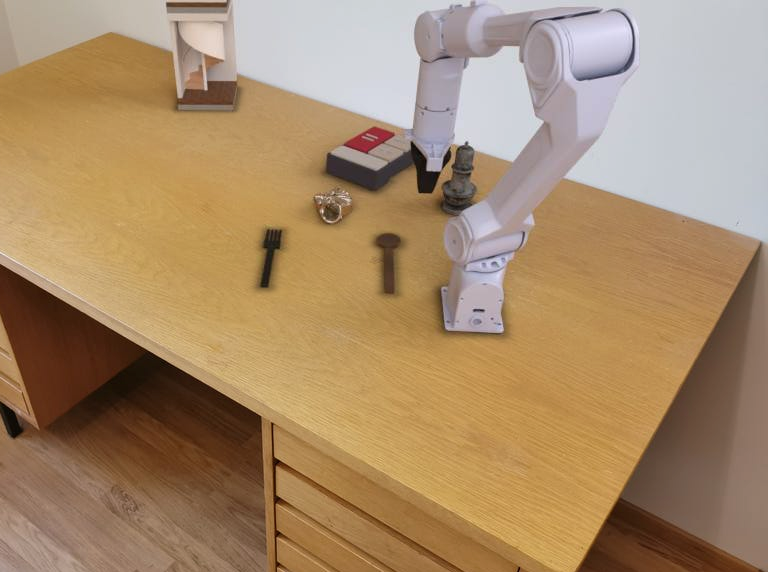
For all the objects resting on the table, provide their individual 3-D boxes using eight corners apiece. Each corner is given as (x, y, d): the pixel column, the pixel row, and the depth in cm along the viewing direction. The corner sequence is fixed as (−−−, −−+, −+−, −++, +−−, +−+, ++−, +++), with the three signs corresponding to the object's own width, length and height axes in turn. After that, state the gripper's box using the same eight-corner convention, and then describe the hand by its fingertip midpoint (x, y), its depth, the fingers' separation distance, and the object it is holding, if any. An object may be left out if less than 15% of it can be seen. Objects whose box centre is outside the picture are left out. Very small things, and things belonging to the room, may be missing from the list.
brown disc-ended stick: (401, 293, 109) (402, 290, 109) (377, 292, 110) (377, 289, 109) (399, 236, 120) (400, 233, 120) (377, 235, 120) (377, 232, 120)
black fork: (273, 287, 111) (273, 285, 110) (255, 287, 111) (255, 285, 111) (282, 231, 122) (282, 229, 121) (266, 230, 122) (266, 228, 121)
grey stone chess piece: (473, 217, 124) (485, 151, 116) (437, 214, 125) (447, 148, 116) (474, 199, 128) (486, 133, 120) (439, 196, 129) (449, 130, 121)
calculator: (423, 140, 136) (377, 168, 127) (420, 161, 139) (375, 191, 130) (373, 123, 141) (326, 149, 132) (371, 144, 144) (324, 172, 135)
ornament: (322, 196, 129) (322, 177, 127) (359, 204, 127) (360, 185, 125) (304, 219, 124) (304, 200, 121) (343, 228, 122) (344, 209, 119)
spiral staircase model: (178, 110, 154) (156, -82, 130) (185, 88, 162) (165, -97, 138) (233, 110, 154) (221, -82, 130) (237, 88, 162) (226, -97, 138)
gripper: (405, 79, 106) (397, 165, 116) (408, 126, 96) (398, 216, 105) (455, 81, 106) (442, 167, 115) (464, 128, 95) (449, 218, 105)
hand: (425, 191), depth 110 cm, fingers closed
